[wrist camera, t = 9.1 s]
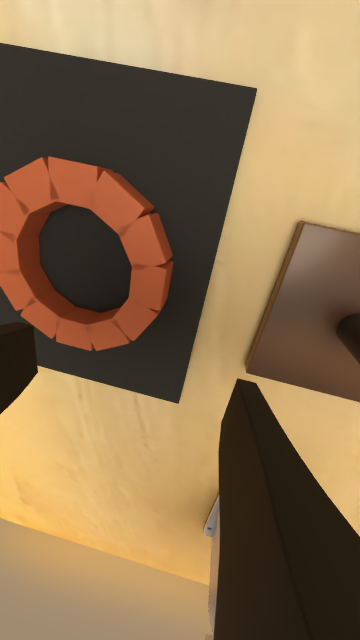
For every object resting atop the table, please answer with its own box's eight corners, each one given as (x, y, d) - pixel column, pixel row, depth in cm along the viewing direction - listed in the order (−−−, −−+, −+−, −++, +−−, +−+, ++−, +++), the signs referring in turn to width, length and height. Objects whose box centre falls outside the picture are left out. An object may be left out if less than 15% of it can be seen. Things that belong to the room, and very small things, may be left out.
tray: (179, 400, 21) (178, 404, 21) (2, 352, 22) (-2, 355, 22) (256, 91, 12) (257, 87, 12) (-51, 36, 13) (-59, 32, 13)
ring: (158, 351, 19) (150, 367, 17) (20, 315, 20) (-1, 327, 18) (187, 185, 14) (181, 183, 12) (1, 147, 15) (-31, 139, 13)
